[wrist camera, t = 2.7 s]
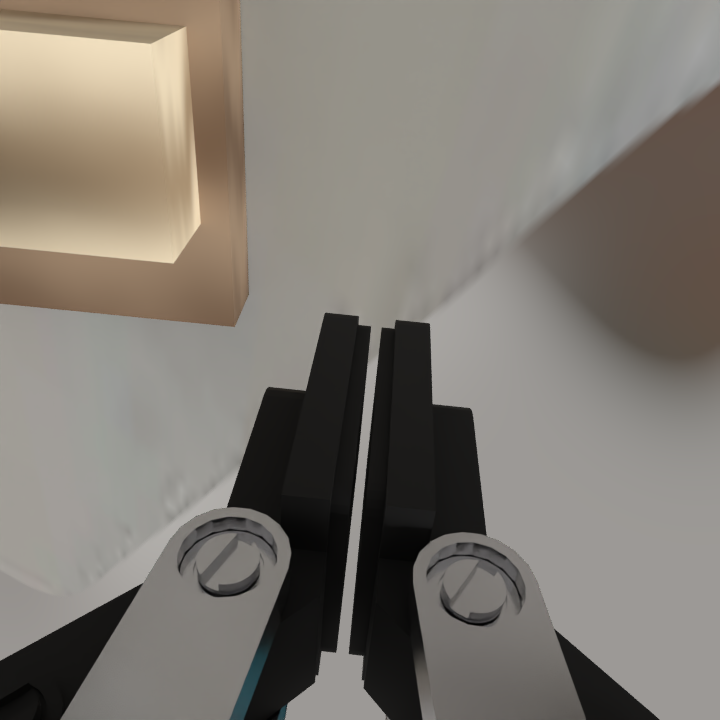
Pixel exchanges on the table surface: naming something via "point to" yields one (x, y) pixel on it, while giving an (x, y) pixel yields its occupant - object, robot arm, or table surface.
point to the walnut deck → (215, 188)
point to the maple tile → (96, 137)
